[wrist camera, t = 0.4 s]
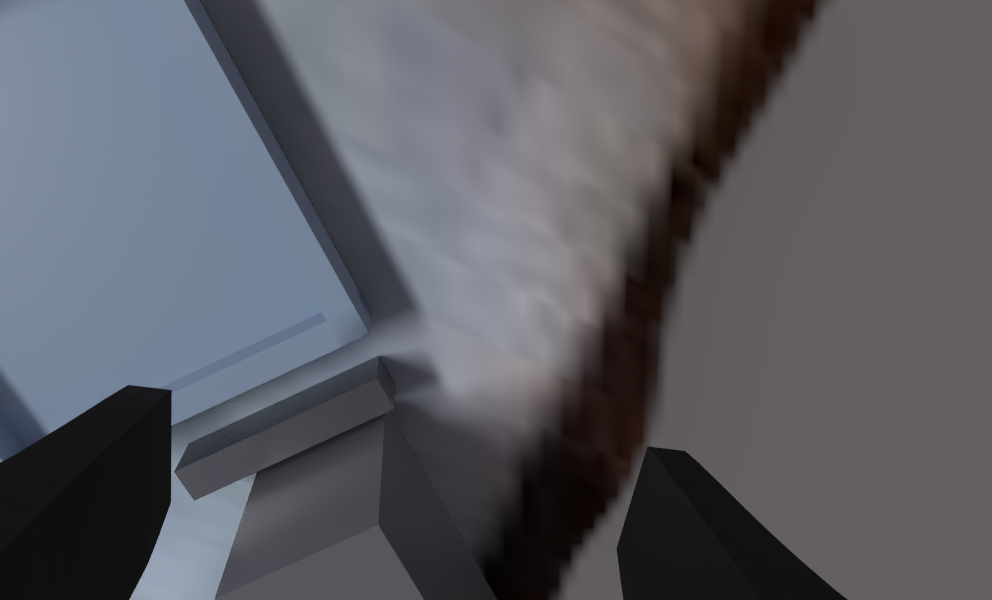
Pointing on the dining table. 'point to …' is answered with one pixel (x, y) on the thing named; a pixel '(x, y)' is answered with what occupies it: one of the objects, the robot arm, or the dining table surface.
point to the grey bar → (350, 527)
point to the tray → (147, 220)
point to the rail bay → (286, 428)
